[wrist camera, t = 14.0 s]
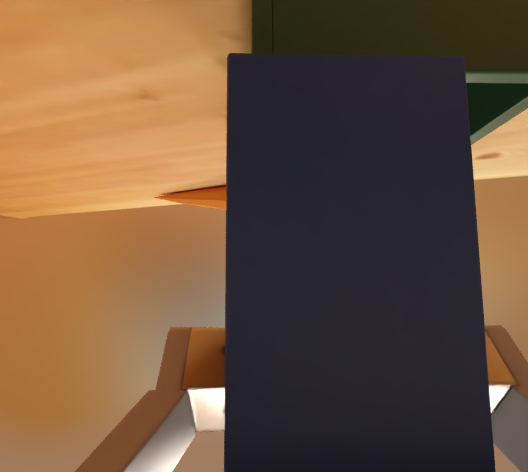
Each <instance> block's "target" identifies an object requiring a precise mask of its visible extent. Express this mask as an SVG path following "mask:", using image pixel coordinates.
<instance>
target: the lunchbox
mask: <svg viewBox="0 0 528 472" xmlns="http://www.w3.org/2000/svg"><path fill="white" fill-rule="evenodd" d="M252 54H330V55H418V56H463V57H464V58H465V72H466V85H467V99H468V112H469V125H470V139H471V145H472V144H473V143H475V142H476V141H478V140H479V139H481V138H482V137H484V136H485V135H487V134H489V133H490V132H492V131H493V130H495V129H496V128H498V127H499V126H501V125H502V124H504V123H506V122H507V121H509V120H510V119H512V118H513V117H515V116H516V115H518V114H519V113H521V112H522V111H524V110H526V109H527V108H528V0H252Z"/></svg>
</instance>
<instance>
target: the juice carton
mask: <svg viewBox="0 0 528 472" xmlns="http://www.w3.org/2000/svg"><path fill="white" fill-rule="evenodd" d="M225 294H226V295H225V304H226V305H225V427H224V435H225V436H224V438H225V439H224V472H495V460H494V447H493V433H492V420H491V406H490V393H489V380H488V366H487V353H486V340H485V326H484V313H483V302H482V301H483V299H482V286H481V273H480V259H479V247H478V232H477V219H476V206H475V193H474V179H473V166H472V152H471V139H470V125H469V112H468V99H467V85H466V72H465V58H464V57H463V56H418V55H330V54H243V53H230V54H229V55H228V57H227V160H226V293H225Z"/></svg>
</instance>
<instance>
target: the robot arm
mask: <svg viewBox="0 0 528 472" xmlns="http://www.w3.org/2000/svg"><path fill="white" fill-rule="evenodd" d="M484 326H485V340H486V353H487V366H488V380H489V393H490V406H491V420H492V433H493V443H494V444H495V445H496V446H497V447H498V448H499V449H500V450H501V451H502V452H503V453H504V454H505V455H506V456H507V458H508V459H509V460H510V461H511V462H512V463H513V464H514V465H515V466H516V467H517V468H518V469H519V470H520V471H521V472H528V362H527V361H526V360H525V358H524V356H523V355H522V353H521V352H520V350H519V349H518V347H517V346H516V344H515V343H514V341H513V339H512V338H511V336H510V335H509V333H508V332H507V330H506V329H505V328H503V327H502V326H501V325H484ZM224 427H225V328H206V327H203V328H202V327H171V328H170V330H169V332H168V335H167V339H166V344H165V349H164V353H163V358H162V362H161V367H160V371H159V376H158V381H157V385H156V390H149V391H148V392H147V393H146V395H144V396H143V398H142V399H141V400H140V401H139V402H138V403H137V404H136V405H135V406H134V407H133V408H132V410H131V411H130V412H129V413H128V414H127V415H126V416H125V417H124V418H123V419H122V421H121V422H120V423H119V424H118V425H117V426H116V427H115V428H114V429H113V430H112V432H111V433H110V434H109V435H108V436H107V437H106V438H105V439H104V440H103V442H101V443H100V445H99V446H98V447H97V448H96V449H95V450H94V451H93V452H92V453H91V455H90V456H89V457H88V458H87V459H86V460H85V461H84V462H83V463H82V464H81V465H80V467H79V468H78V469H77V470H76V471H75V472H172V471H173V469H174V468H175V466H176V465H177V463H178V462H179V460H180V459H181V457H182V455H183V454H184V452H185V451H186V449H187V448H188V446H189V445H190V443H191V441H192V440H193V438H194V437H195V435H196V433H195V432H212V431H213V432H214V431H224Z"/></svg>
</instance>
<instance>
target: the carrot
mask: <svg viewBox="0 0 528 472" xmlns="http://www.w3.org/2000/svg"><path fill="white" fill-rule="evenodd" d="M154 198H158V199H163V200H168V201H173V202H178V203H183V204H190V205H197V206H204V207H211V208H218V209H225V210H226V186H225V187H218V188H210V189H202V190H194V191H186V192H180V193H175V194H170V195H164V196H159V197H154Z"/></svg>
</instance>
